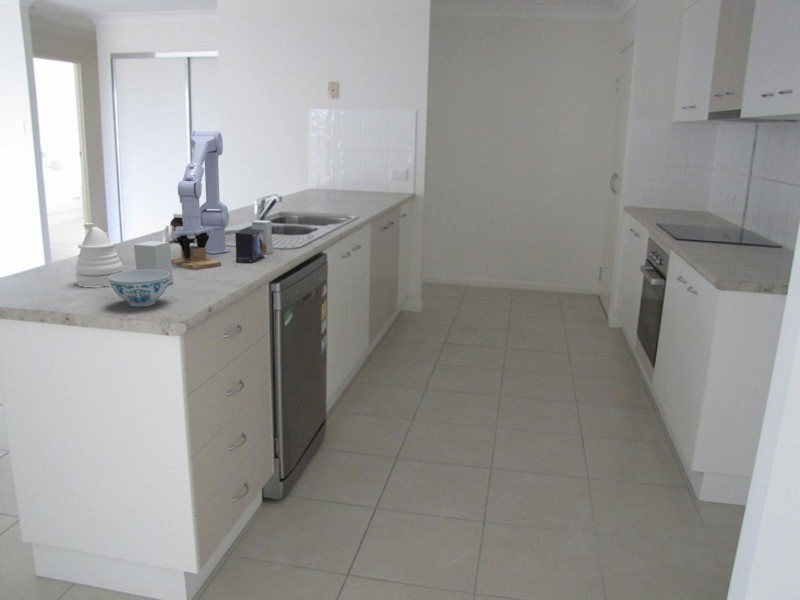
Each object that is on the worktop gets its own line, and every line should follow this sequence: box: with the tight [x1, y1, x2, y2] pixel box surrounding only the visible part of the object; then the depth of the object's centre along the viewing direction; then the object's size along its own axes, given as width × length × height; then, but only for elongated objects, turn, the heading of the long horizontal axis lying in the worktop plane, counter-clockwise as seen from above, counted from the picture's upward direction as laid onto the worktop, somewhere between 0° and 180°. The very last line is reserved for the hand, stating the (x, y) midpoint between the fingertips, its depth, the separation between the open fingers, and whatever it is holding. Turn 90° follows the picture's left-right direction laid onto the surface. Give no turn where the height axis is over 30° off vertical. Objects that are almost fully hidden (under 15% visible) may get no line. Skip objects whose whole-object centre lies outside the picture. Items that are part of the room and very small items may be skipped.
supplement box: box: [133, 240, 174, 285], centre depth 195 cm, size 7×7×13 cm
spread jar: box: [162, 211, 196, 244], centre depth 265 cm, size 12×11×12 cm
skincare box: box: [251, 219, 273, 255], centre depth 245 cm, size 6×4×12 cm
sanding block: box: [180, 245, 208, 263], centre depth 225 cm, size 8×4×4 cm, turn 48°
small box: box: [234, 228, 265, 264], centre depth 233 cm, size 11×6×10 cm, turn 169°
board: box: [171, 257, 222, 271], centre depth 225 cm, size 16×10×1 cm, turn 48°
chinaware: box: [109, 269, 170, 308], centre depth 175 cm, size 15×15×8 cm
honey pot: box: [75, 222, 124, 287], centre depth 196 cm, size 13×13×18 cm
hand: (194, 256), depth 225 cm, fingers closed on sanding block, 4 cm apart
